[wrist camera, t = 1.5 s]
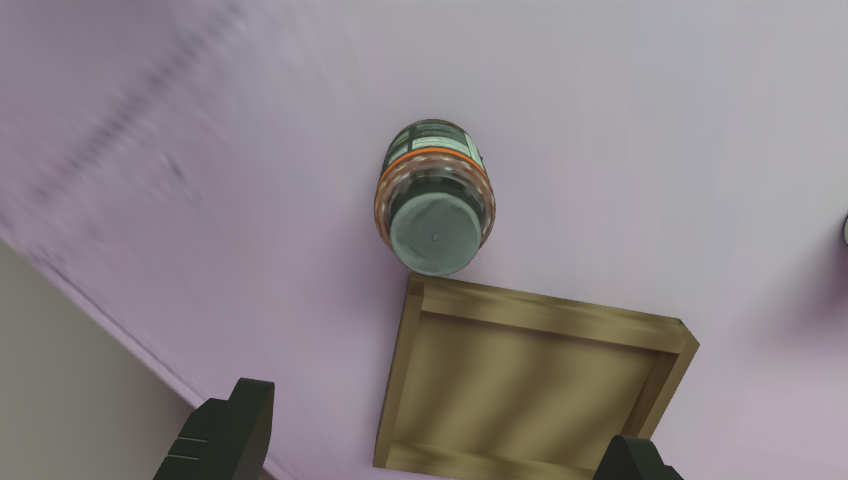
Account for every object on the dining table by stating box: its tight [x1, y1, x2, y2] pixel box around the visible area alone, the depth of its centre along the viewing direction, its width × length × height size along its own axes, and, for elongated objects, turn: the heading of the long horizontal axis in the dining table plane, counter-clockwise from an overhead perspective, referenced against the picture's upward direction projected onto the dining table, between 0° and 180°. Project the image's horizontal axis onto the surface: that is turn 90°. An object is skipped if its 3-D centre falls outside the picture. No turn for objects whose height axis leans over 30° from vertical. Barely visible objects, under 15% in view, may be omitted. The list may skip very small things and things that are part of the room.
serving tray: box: [373, 272, 700, 480], centre depth 38 cm, size 20×16×3 cm
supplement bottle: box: [374, 119, 496, 276], centre depth 26 cm, size 6×6×11 cm
